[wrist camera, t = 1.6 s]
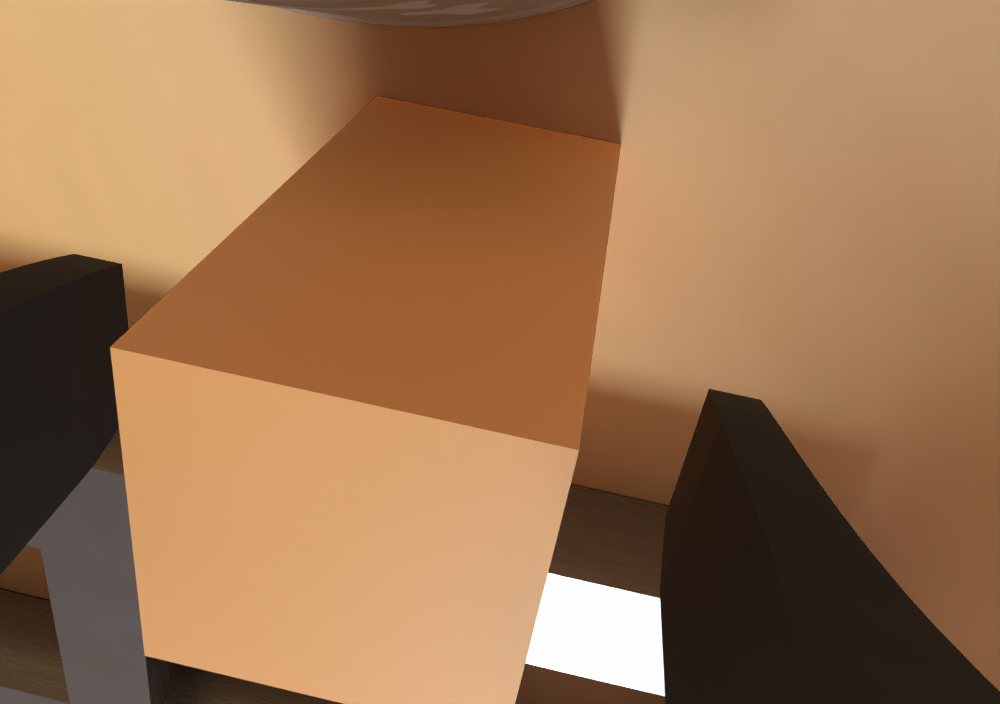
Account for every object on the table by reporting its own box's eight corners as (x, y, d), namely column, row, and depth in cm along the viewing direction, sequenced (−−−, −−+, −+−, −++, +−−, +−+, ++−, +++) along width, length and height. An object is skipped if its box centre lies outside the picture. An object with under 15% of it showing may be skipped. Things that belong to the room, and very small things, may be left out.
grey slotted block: (841, 544, 17) (866, 645, 15) (703, 820, 22) (707, 923, 20) (-193, 313, 18) (-305, 377, 16) (-91, 626, 24) (-165, 704, 22)
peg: (621, 144, 14) (580, 450, 7) (572, 353, 16) (504, 742, 9) (377, 95, 14) (110, 347, 7) (362, 308, 16) (144, 655, 9)
